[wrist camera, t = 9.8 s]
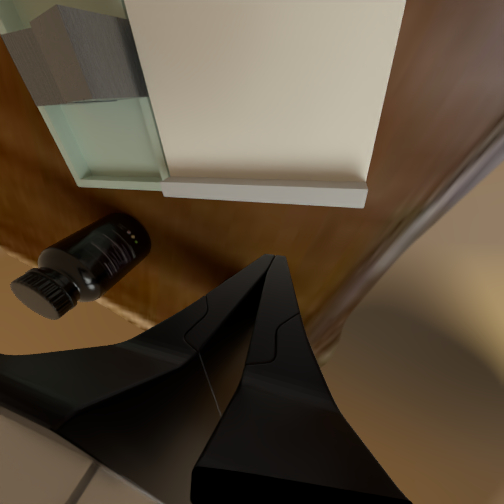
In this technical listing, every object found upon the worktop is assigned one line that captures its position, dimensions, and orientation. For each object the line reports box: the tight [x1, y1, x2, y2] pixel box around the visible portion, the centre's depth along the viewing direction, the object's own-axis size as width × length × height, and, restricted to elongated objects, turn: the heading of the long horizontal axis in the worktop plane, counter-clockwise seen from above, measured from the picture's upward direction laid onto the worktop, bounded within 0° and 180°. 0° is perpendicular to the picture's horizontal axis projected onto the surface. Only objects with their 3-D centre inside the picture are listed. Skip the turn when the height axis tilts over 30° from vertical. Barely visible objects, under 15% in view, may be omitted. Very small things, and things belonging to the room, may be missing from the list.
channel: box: [124, 0, 406, 208], centre depth 13 cm, size 17×15×4 cm
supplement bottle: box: [10, 213, 151, 320], centre depth 25 cm, size 7×7×12 cm
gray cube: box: [1, 28, 117, 106], centre depth 17 cm, size 4×4×4 cm
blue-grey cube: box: [29, 4, 149, 103], centre depth 15 cm, size 4×4×4 cm
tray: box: [0, 0, 170, 191], centre depth 18 cm, size 18×12×2 cm, turn 4°
